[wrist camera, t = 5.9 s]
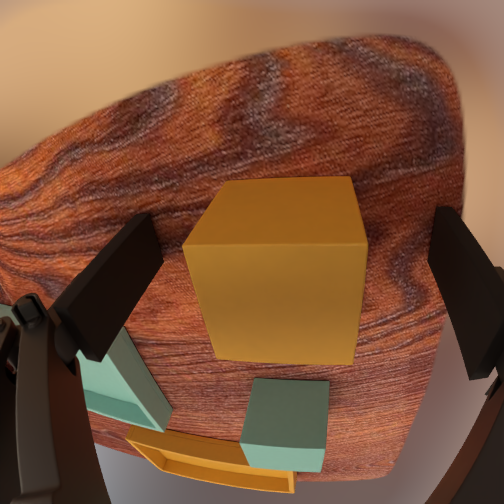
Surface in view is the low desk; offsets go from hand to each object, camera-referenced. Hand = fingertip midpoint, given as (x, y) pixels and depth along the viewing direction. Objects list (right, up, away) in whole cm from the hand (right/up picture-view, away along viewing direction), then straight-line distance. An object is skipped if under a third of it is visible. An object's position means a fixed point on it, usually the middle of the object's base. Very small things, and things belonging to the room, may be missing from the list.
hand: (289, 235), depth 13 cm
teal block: (+1, -11, +7) cm, 14 cm away
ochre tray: (-6, -24, +18) cm, 31 cm away
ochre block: (0, 0, 0) cm, 0 cm away
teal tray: (-18, -10, +11) cm, 24 cm away
